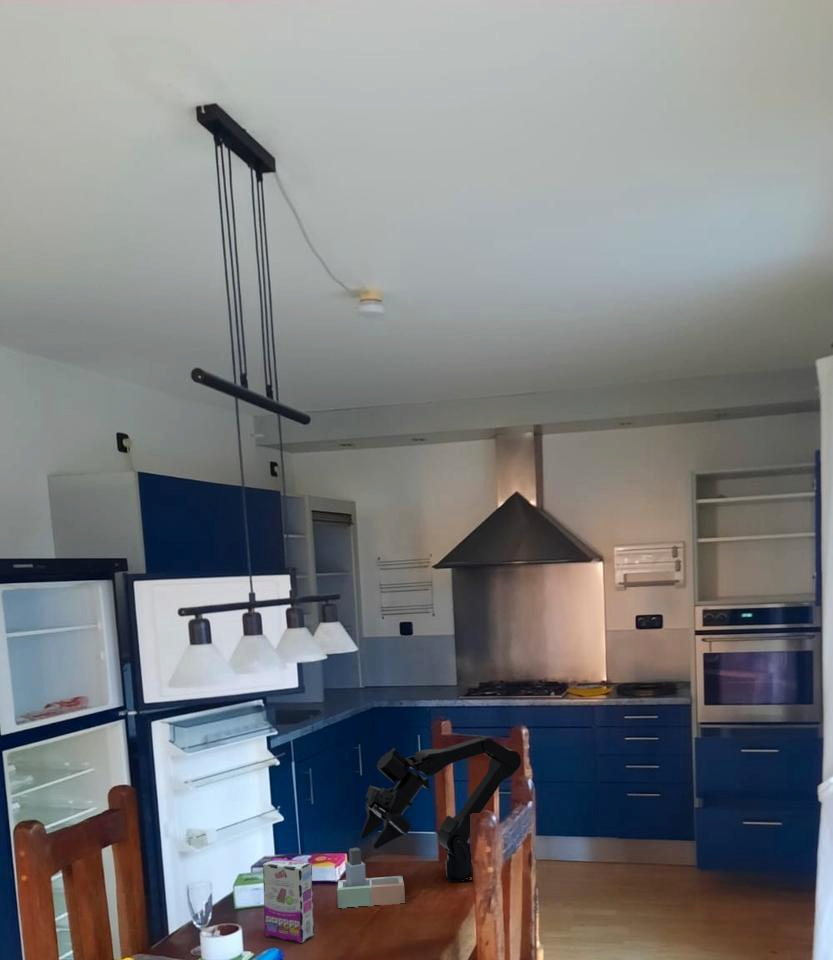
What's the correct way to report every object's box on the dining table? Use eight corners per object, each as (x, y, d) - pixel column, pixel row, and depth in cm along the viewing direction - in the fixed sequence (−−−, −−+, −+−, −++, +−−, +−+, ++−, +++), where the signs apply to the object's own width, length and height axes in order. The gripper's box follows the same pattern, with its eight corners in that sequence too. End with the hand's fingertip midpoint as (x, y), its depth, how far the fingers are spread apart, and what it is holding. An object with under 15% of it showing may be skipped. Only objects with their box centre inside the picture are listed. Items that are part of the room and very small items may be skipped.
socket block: (338, 894, 219) (338, 876, 219) (402, 889, 220) (402, 871, 221) (338, 908, 209) (337, 890, 210) (404, 903, 210) (404, 885, 211)
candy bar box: (315, 935, 194) (313, 862, 196) (302, 944, 190) (300, 869, 192) (276, 928, 199) (274, 856, 201) (263, 936, 195) (261, 863, 197)
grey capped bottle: (361, 895, 217) (359, 845, 219) (366, 900, 213) (364, 850, 215) (346, 898, 215) (344, 848, 217) (351, 904, 212) (350, 852, 213)
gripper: (370, 767, 230) (334, 815, 224) (397, 781, 213) (359, 834, 207) (398, 791, 232) (363, 840, 227) (426, 808, 216) (389, 860, 210)
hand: (367, 842), depth 218 cm, fingers open, 9 cm apart
